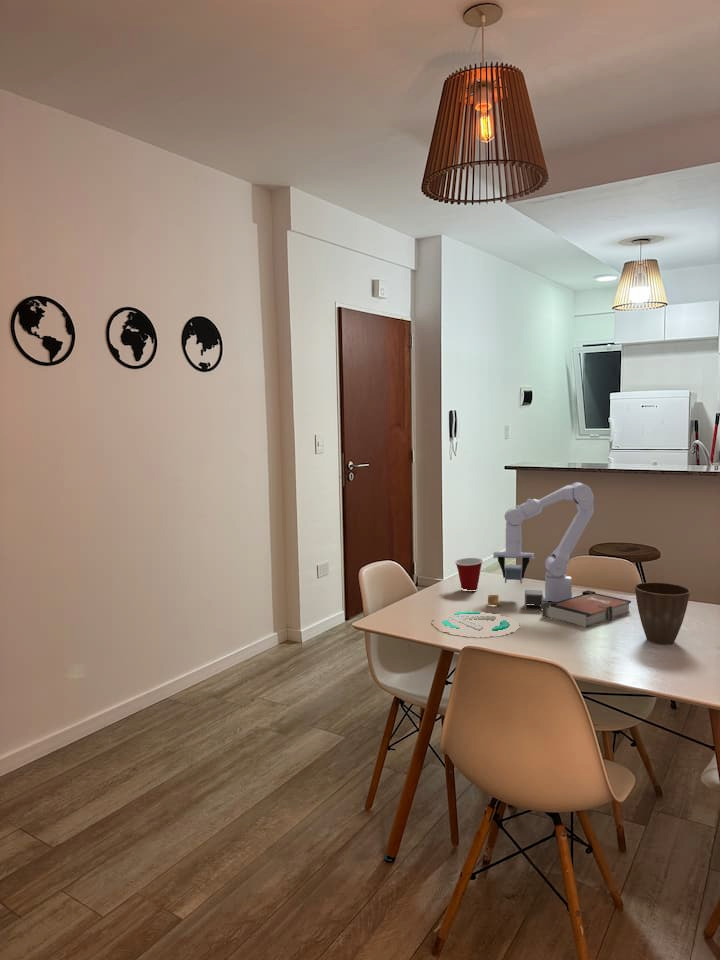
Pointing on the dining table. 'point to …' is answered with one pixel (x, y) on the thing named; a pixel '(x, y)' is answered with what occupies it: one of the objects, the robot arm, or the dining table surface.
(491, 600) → the cube
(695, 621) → the dining table surface
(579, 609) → the book
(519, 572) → the cover
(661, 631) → the plant pot
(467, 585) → the plastic cup
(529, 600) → the cover
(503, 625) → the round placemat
